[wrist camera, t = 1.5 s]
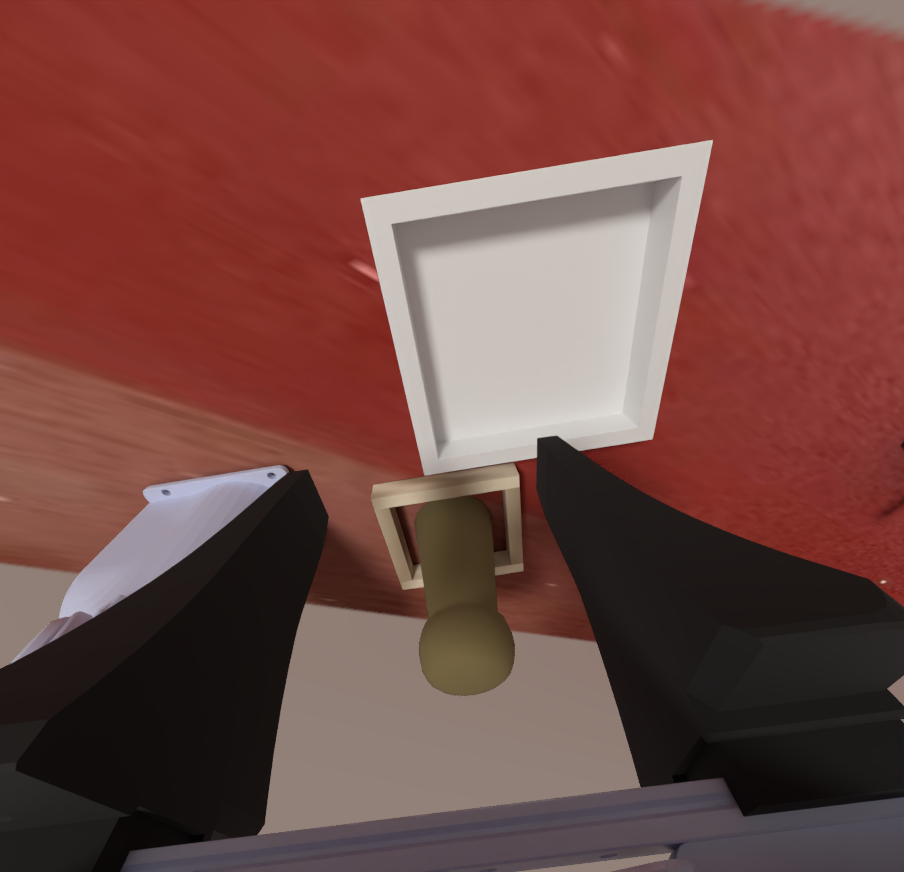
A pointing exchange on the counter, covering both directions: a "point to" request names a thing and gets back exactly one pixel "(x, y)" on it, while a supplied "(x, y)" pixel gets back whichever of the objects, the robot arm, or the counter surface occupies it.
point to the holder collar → (444, 488)
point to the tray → (537, 301)
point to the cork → (461, 599)
